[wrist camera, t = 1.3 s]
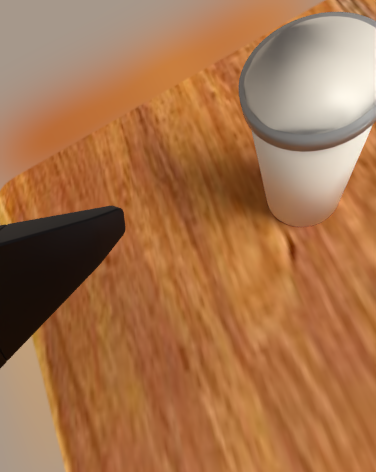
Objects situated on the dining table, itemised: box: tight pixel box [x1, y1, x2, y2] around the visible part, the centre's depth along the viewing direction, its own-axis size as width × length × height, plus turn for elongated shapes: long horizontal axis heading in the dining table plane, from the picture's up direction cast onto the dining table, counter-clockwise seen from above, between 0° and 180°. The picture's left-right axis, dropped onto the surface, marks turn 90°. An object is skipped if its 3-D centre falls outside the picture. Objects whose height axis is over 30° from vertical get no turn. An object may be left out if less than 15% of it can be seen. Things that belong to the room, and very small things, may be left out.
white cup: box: [239, 12, 376, 227], centre depth 16 cm, size 6×6×12 cm
